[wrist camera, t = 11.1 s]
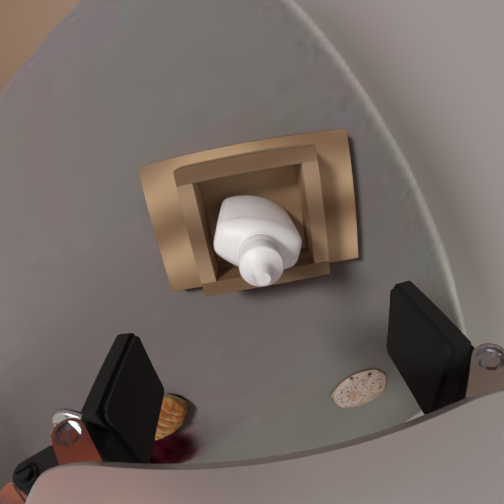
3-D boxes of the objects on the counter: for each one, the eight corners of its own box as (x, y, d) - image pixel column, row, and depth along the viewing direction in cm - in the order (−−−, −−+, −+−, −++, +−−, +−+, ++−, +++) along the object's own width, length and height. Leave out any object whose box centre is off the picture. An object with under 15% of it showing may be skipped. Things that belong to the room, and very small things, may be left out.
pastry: (157, 381, 35) (152, 402, 32) (200, 403, 37) (198, 425, 34) (129, 410, 38) (123, 429, 34) (167, 429, 40) (164, 448, 36)
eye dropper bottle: (244, 174, 25) (249, 209, 14) (294, 216, 26) (333, 280, 15) (211, 213, 26) (190, 276, 15) (260, 252, 27) (275, 335, 16)
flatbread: (386, 360, 36) (389, 365, 35) (383, 394, 39) (385, 399, 38) (329, 378, 36) (331, 383, 35) (331, 410, 39) (333, 415, 38)
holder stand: (353, 251, 29) (372, 273, 25) (175, 284, 30) (165, 311, 25) (340, 129, 25) (361, 129, 20) (143, 165, 25) (123, 173, 21)
